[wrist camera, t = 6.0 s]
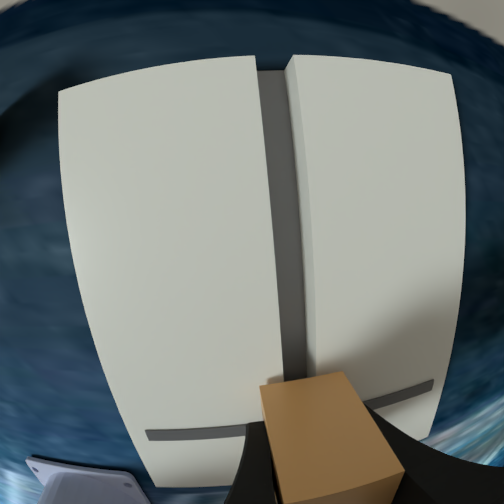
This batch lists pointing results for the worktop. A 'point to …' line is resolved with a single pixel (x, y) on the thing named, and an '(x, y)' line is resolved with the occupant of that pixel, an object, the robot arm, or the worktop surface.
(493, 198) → the worktop surface
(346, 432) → the fader tab
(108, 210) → the fader console
